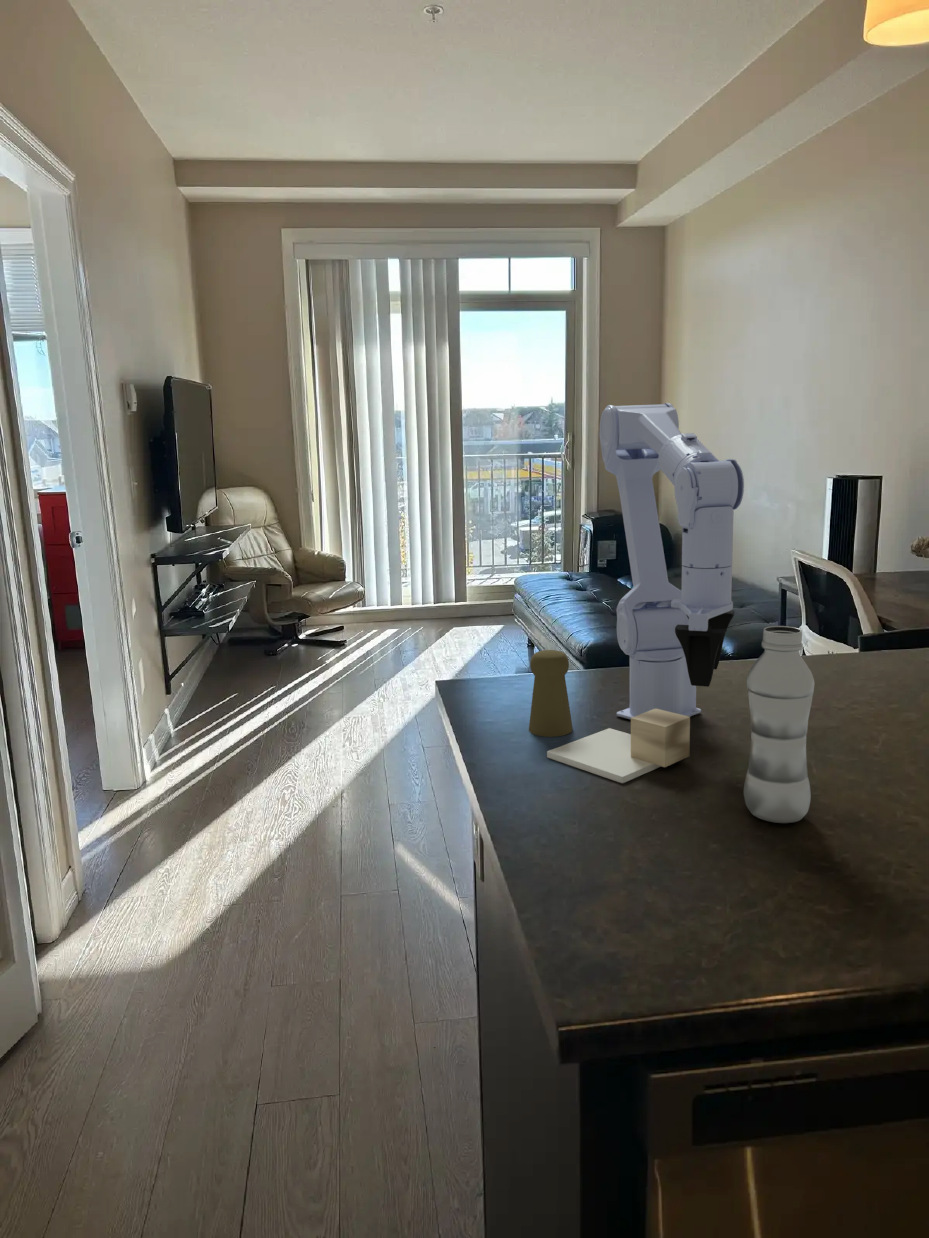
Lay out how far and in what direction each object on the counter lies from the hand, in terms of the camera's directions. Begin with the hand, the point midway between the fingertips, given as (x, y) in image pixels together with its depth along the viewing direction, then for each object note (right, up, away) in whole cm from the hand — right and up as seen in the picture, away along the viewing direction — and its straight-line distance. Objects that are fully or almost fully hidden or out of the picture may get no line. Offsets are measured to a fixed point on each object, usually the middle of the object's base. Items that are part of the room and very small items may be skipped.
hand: (704, 676), depth 107 cm
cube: (-5, -10, +1) cm, 11 cm away
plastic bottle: (+3, -14, -15) cm, 20 cm away
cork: (-17, -8, +15) cm, 24 cm away
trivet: (-10, -10, +4) cm, 15 cm away
